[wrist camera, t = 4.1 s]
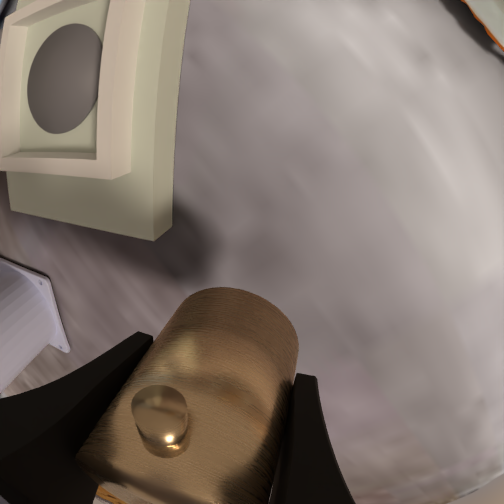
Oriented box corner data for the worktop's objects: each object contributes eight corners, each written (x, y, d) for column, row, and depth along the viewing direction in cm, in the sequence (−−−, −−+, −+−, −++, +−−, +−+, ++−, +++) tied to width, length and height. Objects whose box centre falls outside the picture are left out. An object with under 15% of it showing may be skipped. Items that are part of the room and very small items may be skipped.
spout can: (176, 367, 13) (104, 494, 7) (171, 243, 10) (26, 389, 4) (285, 395, 12) (249, 545, 6) (319, 273, 10) (292, 494, 3)
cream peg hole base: (10, 197, 18) (-23, 212, 15) (19, -1, 11) (-15, -4, 8) (172, 226, 16) (137, 255, 13) (202, -63, 9) (173, -93, 6)
